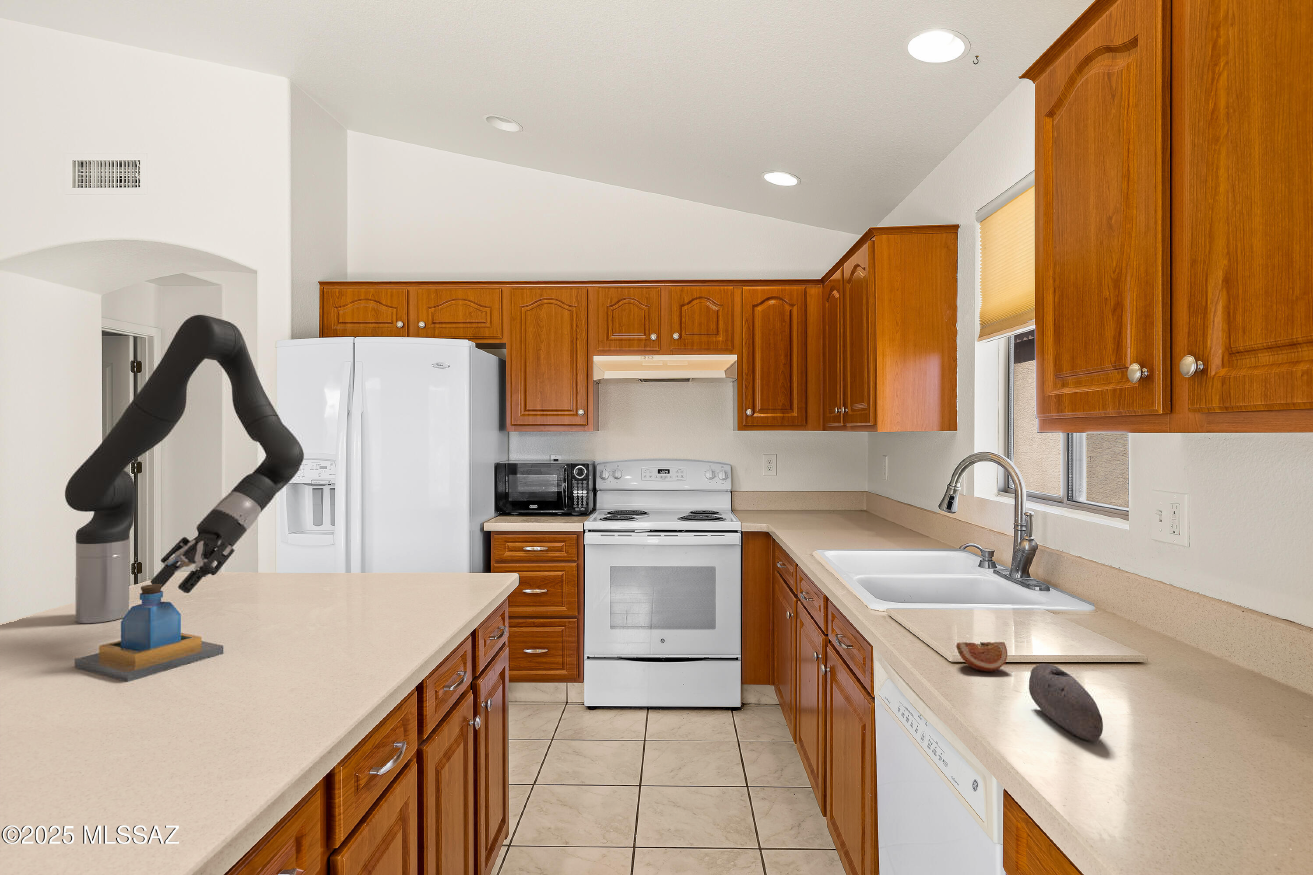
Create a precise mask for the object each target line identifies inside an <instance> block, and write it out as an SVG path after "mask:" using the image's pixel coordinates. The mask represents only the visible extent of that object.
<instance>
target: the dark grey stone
mask: <svg viewBox="0 0 1313 875" xmlns="http://www.w3.org/2000/svg"><path fill="white" fill-rule="evenodd" d="M1028 692H1029V695H1030V696H1031V697H1030V698H1031V699H1032V700H1033V702H1034V703H1035V705H1036V706H1037V707H1038V708H1039V709H1040V711H1041V712H1042V713H1043V715H1045V716H1046V717H1047V718H1049V719H1050V720H1051V721H1053V722H1055V723H1056V724H1057V725H1059V727H1061V728H1063V729H1065V730H1066V731H1068V732H1070V734H1072V735H1074V736H1075V737H1078V738H1080V739H1082V740H1086V741H1089V742H1096V741H1097V740H1099V739H1100V738H1101V737H1102V734H1103V730H1104V721H1103V717H1102V714H1101V713H1100V709H1099V707H1098V705H1097V703H1096V700H1094V697H1093V696H1092V695H1091V694H1090V693H1089V692H1088V690H1086V688H1085V687H1084V686H1083V685H1082V684H1081V683H1080V682H1079V681H1078V680H1077V679H1076V678H1075V677H1074V676H1072V675H1071V674H1069V673H1068V672H1066V671H1064V670H1063V669H1061V668H1060V667H1058V666H1056V665H1054V664H1049V663H1038V664H1037V665H1035V666H1033V667H1032V668H1031V671H1030V676H1029V681H1028Z"/></svg>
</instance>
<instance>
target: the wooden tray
mask: <svg viewBox="0 0 1313 875" xmlns="http://www.w3.org/2000/svg"><path fill="white" fill-rule="evenodd" d="M219 654H220V655H223V654H224V645H222V644H217V643H215V642H214V643H213V642H207V641H203V640H202V636H200V635H195V634H189V633H186V632H185V633H184V632H181V641H177V642H174V643H170V644H166V645H162V646H158V647H154V648H151V649H147V650H143V651H139V652H138V651H133V650H129V649H125V648H121V639H120V640H116V641H113V642H109V643H104V644H100V645H98V652H97V653H93V654H88V655H84V656H81V657H77V658H74V668H75V669H79V670H82V671H85V672H89V673H94V674H97V675H101V676H105V677H108V678H113V679H116V680H120V681H123V682H128V683H129V682H131V681H135V680H138V679H141V678H144V677H148V675H149V676H152V675H154V674H158V672H159V673H162V672H165V670H166V671H168V669H169V670H172V669H175V667H176V668H179V667H181V666H180V665H183V664H186V665H189V664H191V663H190V662H193V663H195V662H194V661H196V662H199V661H198V660H200V661H202V659H203V660H206V659H205V658H207V659H209V658H208V657H210V658H212V657H216V656H220V655H219ZM188 663H189V664H188ZM178 666H179V667H178ZM183 666H184V665H183ZM171 668H172V669H171ZM161 671H162V672H161Z"/></svg>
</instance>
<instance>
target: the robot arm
mask: <svg viewBox="0 0 1313 875" xmlns="http://www.w3.org/2000/svg"><path fill="white" fill-rule="evenodd" d="M204 360H211V361H216V362H217V363H218V364H219V366H220V367H221V369H223V371H224V372H225V374H226V375H227V377H228V379H229V382H230V386H231V397H232V398H231V400H232V406H233V409H234V412H235V414H236V416H237V418H238V420H239V421H240V423H241V425H242V427H243V429H244V430H245V432H246V433H247V435H248V437H249V438H250V439H251V440H252V441H254V442H256V443H258V444H259V445H260V446H261V448H262V450H263V451H264V453H265V457H264V459H263V460H262V461H261V462H260V464H259V465H258V466H257V467H256V468H255V469H254V471H253V472H252V473H249V474H247V475H245V476H244V477H243V478H242V479H241V480H240V481H239V482H237V484H236V485H235V486H234V487H233V489H231V491H230V492H228V493H227V495H225V496H224V497H223V498H221V500H220V501H219V502H218V503H216V505H215V506H213V508H212V509H211V510H210V511H209V512H208V513H207V515H206V516H205V517H204V518H203V519H202V520H201V521H200V522H199V523H198V524H197V525H196V531H197V536H195V537H194V538H193V539H191V540H190V539H188V537H186V536H184V537H182V538H180V539H179V540H178V542H177V543H176V544H175V545H174V546H173V547H172V548H171V549H170V550H169V551H168V552H167V553H166V554H165V555H164V556H163V557H161V559H160V562H161V563H162V564H163V567H162V568H161V569H160V571H159V572H157V574H156V575H155V576H154V577H153V578H152V579H151V580H150V585H151V584H162V588H163V587H164V586H165V585H166V584H167V583H168V582H169V581H170V579H171V578H172V577H173V576H174V575H175V574H176V572H177V571H180V570H182V568H184V567H185V568H188V567H190V566H192V565H194V568H193V569H192V570H190V572H189V573H188V574H187V575H186V577H185V578H184V579H183V580H182V581H181V582H180V583H179V584H178V585H177V588H178V589H179V590H180V591H181V592H183V593H184V594H189V593H191V592H192V591H193V589H195V587H196V586H197V585H198V584H199V583H200V581H201V580H202V579H203V578H207V577H208V576H209V575H211V576H215V575H217V574H218V572H219V571H220V570H221V569H222V567H223V566H224V565H225V563H226V562H227V561H228V560H229V559H230V557H231V556H232V555H233V554H234V553H235V548H233V547H234V546H235V545H236V544H237V543H238V542H239V541H240V540H241V538H242V537H243V536H244V535H245V533H246V532H247V531H248V530H249V529H250V528H251V527H252V526H253V524H255V522H256V520H257V519H258V518H259V516H260V515H261V513H262V512H263V511H264V510H265V508H266V507H268V505H269V504H270V503H271V502H272V500H273V499H274V498H275V496H276V495H277V494H278V493H279V492H281V490H282V489H283V488H285V486H287V485H288V484H289V483H290V482H291V481H292V480H293V478H294V477H295V476H296V475H297V474H298V472H299V470H300V468H301V466H302V464H303V462H304V459H305V452H304V450H303V446H302V445H301V444H300V441H299V440H298V439H297V437H296V436H295V435H294V434H293V433H292V432H291V430H290V429H289V428H288V427H287V426H286V425H285V424H284V423H283V422H282V419H281V417H280V415H279V414H278V412H277V411H276V409H275V407H274V405H273V404H272V402H271V401H270V399H269V397H268V395H267V393H266V392H265V389H264V387H263V385H262V383H261V380H260V379H259V375H258V374H257V371H256V368H255V365H254V363H253V360H252V357H251V354H250V351H249V349H248V346H247V344H246V341H245V339H244V336H243V333H242V332H241V331H240V329H239V328H238V326H236V325H235V324H234V323H232V322H230V321H228V320H226V319H222V318H218V317H213V316H210V315H205V314H195V315H192V316H190V317H188V318H187V319H186V320H184V321H183V322H182V323H181V325H180V326H179V328H178V330H177V331H176V333H175V334H174V336H173V338H172V340H171V341H170V344H169V345H168V347H167V349H166V351H165V353H164V354H163V356H162V358H161V360H160V361H159V363H158V365H157V366H156V367H155V369H154V370H153V371H152V373H151V374H150V376H149V378H148V379H147V380H146V382H145V383H144V385H143V386H142V388H141V389H140V390H139V391H138V393H137V394H136V395H135V396H134V397H133V399H132V400H131V402H130V403H129V405H128V406H127V408H125V410H124V412H123V413H122V415H121V416H120V418H119V419H118V421H117V422H116V423H115V425H114V426H113V427H112V428H111V429H110V431H109V432H108V434H107V435H106V436H105V437H104V439H103V440H102V442H101V443H100V444H99V446H98V447H97V448H96V449H95V450H94V451H93V452H92V454H91V455H89V457H88V458H86V460H85V461H84V462H83V463H82V464H81V465H80V466H79V467H78V468H77V469H76V471H75V472H74V473H73V474H72V475H71V477H70V478H69V480H68V482H67V484H66V486H65V490H64V497H65V502H66V503H67V505H68V506H69V507H70V508H71V509H73V510H75V511H77V512H83V513H84V512H85V513H87V512H88V513H89V512H93V515H92V517H91V519H90V520H89V521H88V522H87V523H85V525H83V526H82V527H80V528H78V529H77V530H76V533H75V622H77V623H79V624H95V623H105V622H111V621H115V620H120V619H123V618H124V617H125V615H126V614H127V613H128V611H129V610H130V532H131V530H132V529H133V526H134V523H135V522H134V521H135V520H134V518H135V507H136V506H135V504H136V487H135V483H134V480H133V477H132V476H131V474H130V473H129V472H128V471H126V470H125V469H126V468H128V466H129V465H131V463H133V462H134V461H135V460H136V459H138V458H140V457H141V456H142V455H145V454H146V453H147V452H149V451H151V450H152V448H154V447H156V446H157V445H159V444H160V443H161V442H163V441H164V440H165V439H166V438H167V437H168V436H169V434H171V433H172V431H173V430H174V427H175V426H176V425H177V424H178V422H179V421H180V419H181V418H182V416H183V415H184V413H185V410H186V406H187V397H188V396H187V394H188V393H187V390H188V384H189V381H190V379H191V377H192V376H193V375H194V372H195V371H196V370H197V369H198V367H199V366H200V365H201V363H203V362H204ZM215 563H216V565H215Z"/></svg>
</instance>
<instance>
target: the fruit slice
mask: <svg viewBox="0 0 1313 875" xmlns="http://www.w3.org/2000/svg"><path fill="white" fill-rule="evenodd" d="M955 648H956V649H957V653H958V655H959V656H960V658H961V659H962V661H964V663H966V664H967V665H968V666H969V667H971V668H973V669H975V670H977V671H981V672H984V673H985V672H987V673H988V672H994V671H997V670H999V669H1000V668H1002V667H1003V665H1005V664H1006V661H1007V660H1008V649H1007V644H1006V643H1005V642H1004V641H994V642H991V641H986V642H982V641H980V642H979V643H975V642H966V641H963V642H957V643H956V646H955Z"/></svg>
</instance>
